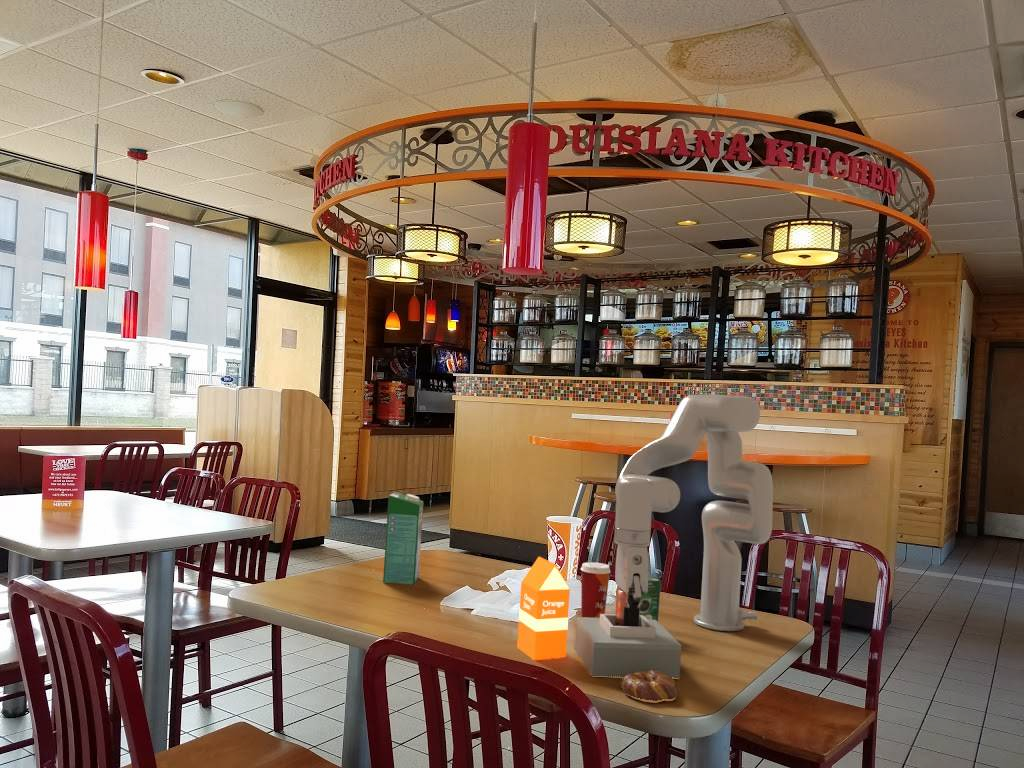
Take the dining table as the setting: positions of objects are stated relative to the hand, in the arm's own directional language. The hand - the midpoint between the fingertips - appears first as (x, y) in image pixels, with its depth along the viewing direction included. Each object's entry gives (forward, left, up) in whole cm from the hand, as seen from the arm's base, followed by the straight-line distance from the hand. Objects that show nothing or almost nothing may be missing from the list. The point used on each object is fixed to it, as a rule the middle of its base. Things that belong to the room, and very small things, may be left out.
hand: (627, 621), depth 168 cm
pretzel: (0, +16, -9) cm, 19 cm away
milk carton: (+49, -68, -9) cm, 84 cm away
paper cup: (0, -32, -9) cm, 33 cm away
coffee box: (-10, -22, -9) cm, 26 cm away
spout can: (0, 0, -3) cm, 3 cm away
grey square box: (0, 0, -9) cm, 9 cm away
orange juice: (+17, -6, -9) cm, 20 cm away
